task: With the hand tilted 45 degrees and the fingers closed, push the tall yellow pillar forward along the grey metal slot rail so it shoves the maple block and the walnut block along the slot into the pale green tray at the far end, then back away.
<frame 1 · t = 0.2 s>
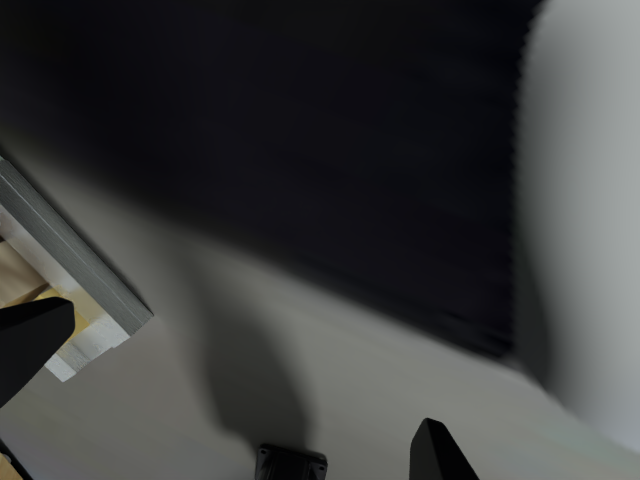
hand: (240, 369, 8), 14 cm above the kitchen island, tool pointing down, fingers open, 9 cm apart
maple block: (27, 268, 26), point 1 cm above the kitchen island, touching slot rail
slot rail: (52, 272, 27), on the kitchen island
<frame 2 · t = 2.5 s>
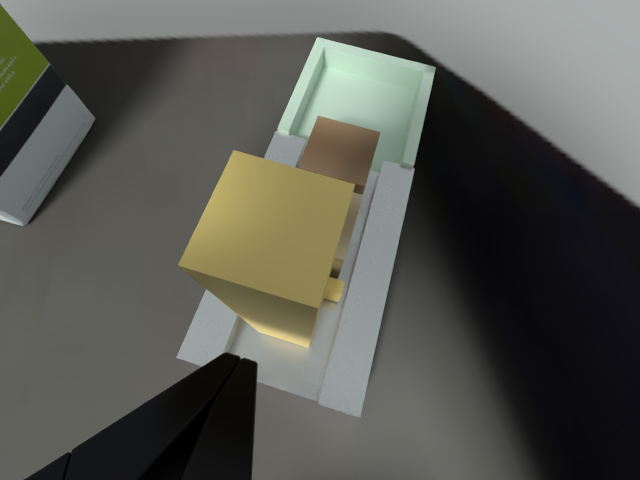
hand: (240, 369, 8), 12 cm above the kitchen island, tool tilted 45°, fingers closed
maple block: (315, 242, 21), point 1 cm above the kitchen island, touching slot rail
walnut block: (334, 184, 23), point 1 cm above the kitchen island, touching slot rail
tall yellow pillar: (289, 280, 13), point 8 cm above the kitchen island, slide at 0.0 cm
slot rail: (310, 264, 22), on the kitchen island
tray: (355, 124, 27), on the kitchen island
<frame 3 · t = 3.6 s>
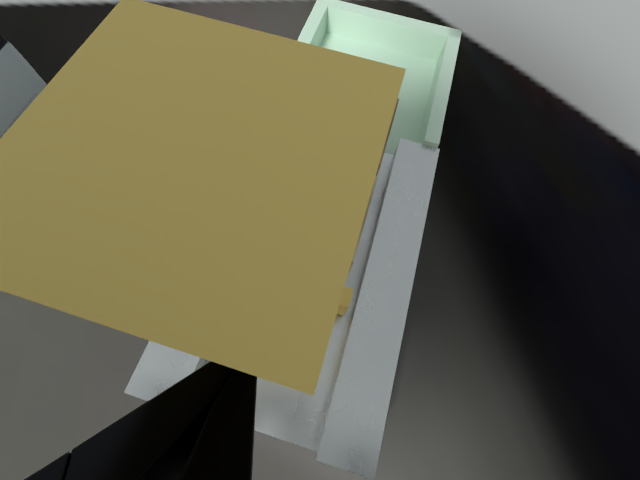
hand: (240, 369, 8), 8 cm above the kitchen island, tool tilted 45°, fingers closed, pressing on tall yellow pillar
tall yellow pillar: (275, 289, 9), point 8 cm above the kitchen island, slide at 0.1 cm, touching gripper
slot rail: (308, 267, 17), on the kitchen island
tray: (364, 100, 22), on the kitchen island
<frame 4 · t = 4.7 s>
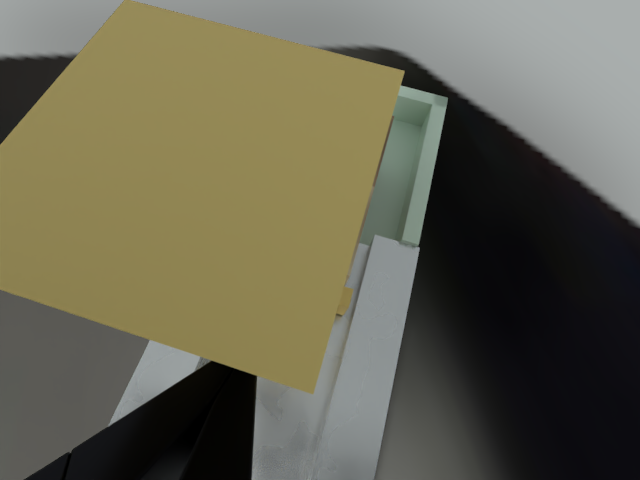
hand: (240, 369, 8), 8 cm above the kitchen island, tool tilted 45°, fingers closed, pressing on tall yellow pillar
tall yellow pillar: (275, 288, 9), point 8 cm above the kitchen island, slide at 6.1 cm, touching gripper, maple block
slot rail: (268, 384, 15), on the kitchen island
tray: (340, 171, 20), on the kitchen island
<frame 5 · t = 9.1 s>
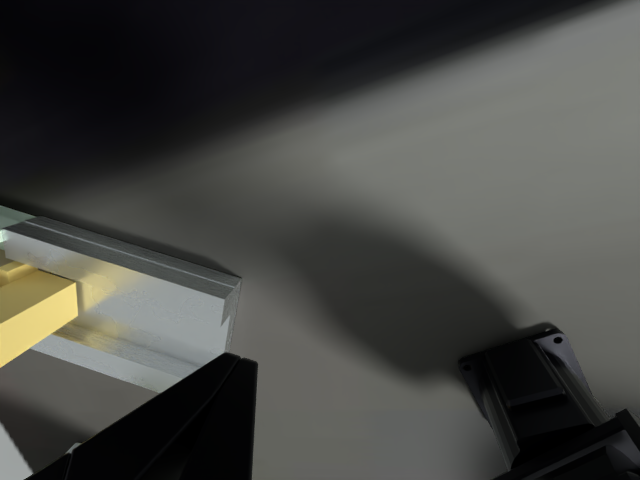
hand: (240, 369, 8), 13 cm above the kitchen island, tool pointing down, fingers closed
slot rail: (137, 303, 25), on the kitchen island
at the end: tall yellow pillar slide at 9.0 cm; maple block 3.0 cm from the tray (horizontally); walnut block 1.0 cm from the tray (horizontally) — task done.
